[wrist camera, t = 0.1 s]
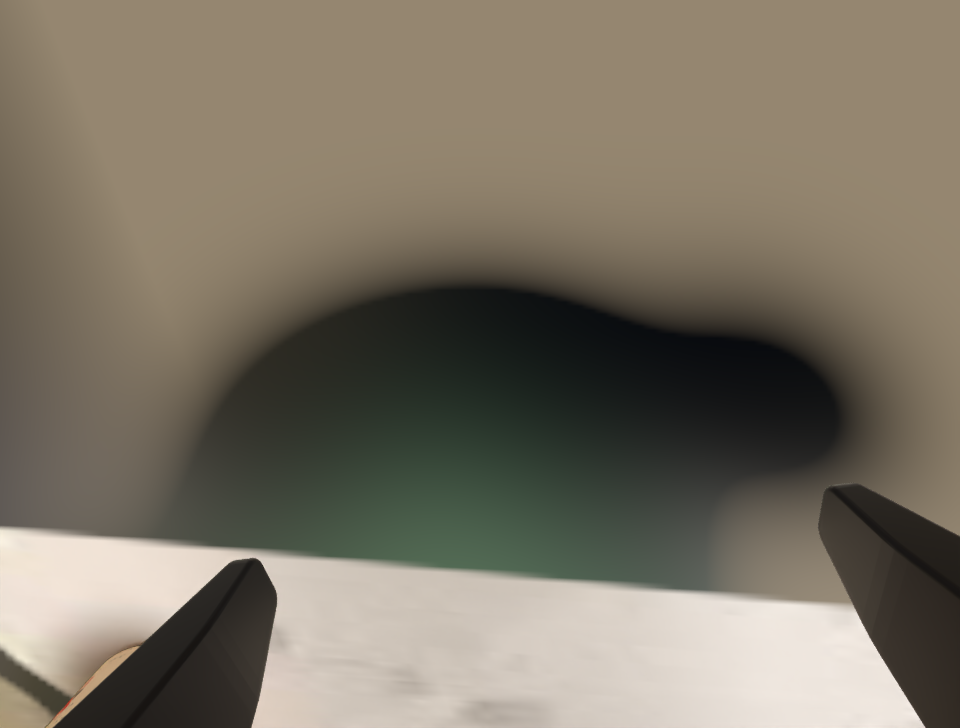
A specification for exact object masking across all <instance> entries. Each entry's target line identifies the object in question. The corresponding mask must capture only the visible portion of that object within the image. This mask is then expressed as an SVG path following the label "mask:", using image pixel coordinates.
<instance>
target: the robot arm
mask: <svg viewBox="0 0 960 728" xmlns="http://www.w3.org/2000/svg"><path fill="white" fill-rule="evenodd" d="M818 529H819V534H820V538H821V540H822V542H823V545H824V546H825V549H826V551H827V553H828V554H829V556H830V559H831V561H832V563H833V565H834V567H835V569H836V571H837V573H838V575H839V577H840V579H841V581H842V583H843V585H844V587H845V589H846V591H847V593H848V595H849V597H850V599H851V601H852V603H853V605H854V607H855V610H856V612H857V614H858V616H859V618H860V620H861V622H862V624H863V626H864V627H865V629H866V631H867V633H868V635H869V637H870V639H871V640H872V642H873V644H874V646H875V647H876V649H877V651H878V652H879V654H880V656H881V657H882V659H883V660H884V662H885V664H886V665H887V667H888V668H889V670H890V672H891V673H892V675H893V676H894V678H895V680H896V681H897V683H898V684H899V686H900V688H901V689H902V691H903V692H904V694H905V696H906V697H907V699H908V700H909V702H910V704H911V705H912V707H913V708H914V710H915V712H916V713H917V715H918V716H919V718H920V720H921V721H922V723H923V724H924V726H925V728H960V536H959V535H957V534H955V533H953V532H951V531H949V530H947V529H945V528H943V527H941V526H939V525H938V524H936V523H934V522H932V521H930V520H928V519H926V518H924V517H922V516H920V515H918V514H916V513H915V512H913V511H911V510H909V509H907V508H905V507H903V506H901V505H899V504H897V503H895V502H894V501H892V500H890V499H888V498H886V497H884V496H882V495H880V494H878V493H876V492H874V491H872V490H871V489H869V488H867V487H865V486H863V485H860V484H858V483H846V484H838V485H831V486H828V487H827V488H826V489H825V491H824V494H823V499H822V506H821V511H820V517H819V523H818ZM276 607H277V594H276V590H275V588H274V586H273V584H272V582H271V580H270V578H269V576H268V574H267V573H266V571H265V569H264V567H263V565H262V563H261V562H260V561H259V560H258V559H256V558H250V559H242V560H235V561H232V562H230V563H229V564H228V565H227V566H226V567H224V568H223V569H222V570H221V571H220V572H219V573H218V574H217V575H216V576H215V577H214V578H213V579H212V580H210V581H209V582H208V583H207V584H206V585H205V586H204V587H203V588H202V589H201V590H200V591H199V592H198V593H197V594H195V595H194V596H193V597H192V598H191V599H190V600H189V601H188V602H187V603H186V604H185V605H184V606H183V607H181V608H180V609H179V610H178V611H177V612H176V613H175V614H174V615H173V616H172V617H171V618H170V619H169V620H168V621H166V622H165V623H164V624H163V625H162V626H161V627H160V628H159V629H158V630H157V631H156V632H155V633H154V634H152V635H151V636H150V637H149V638H148V639H147V640H146V641H145V642H144V643H143V644H142V645H141V646H140V647H139V648H137V649H136V650H135V651H134V652H133V653H132V654H131V655H130V656H129V657H128V658H127V659H126V660H125V661H123V662H122V663H121V664H120V665H119V666H118V667H117V668H116V669H115V670H114V671H113V672H112V673H111V674H110V675H108V676H107V677H106V678H105V679H104V680H103V681H102V682H101V683H100V684H99V685H98V686H97V687H96V688H94V689H93V690H92V691H91V692H90V693H89V694H88V695H87V696H86V697H85V698H84V699H83V700H82V701H80V702H79V703H78V704H77V705H76V706H75V707H74V708H73V709H72V710H71V711H70V712H69V713H68V714H67V715H65V716H64V717H63V718H62V719H61V720H60V721H59V722H58V723H57V724H56V725H55V726H54V727H53V728H251V726H252V723H253V719H254V716H255V712H256V708H257V704H258V701H259V696H260V692H261V687H262V682H263V677H264V671H265V666H266V661H267V655H268V650H269V644H270V639H271V634H272V628H273V623H274V618H275V612H276Z"/></svg>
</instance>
